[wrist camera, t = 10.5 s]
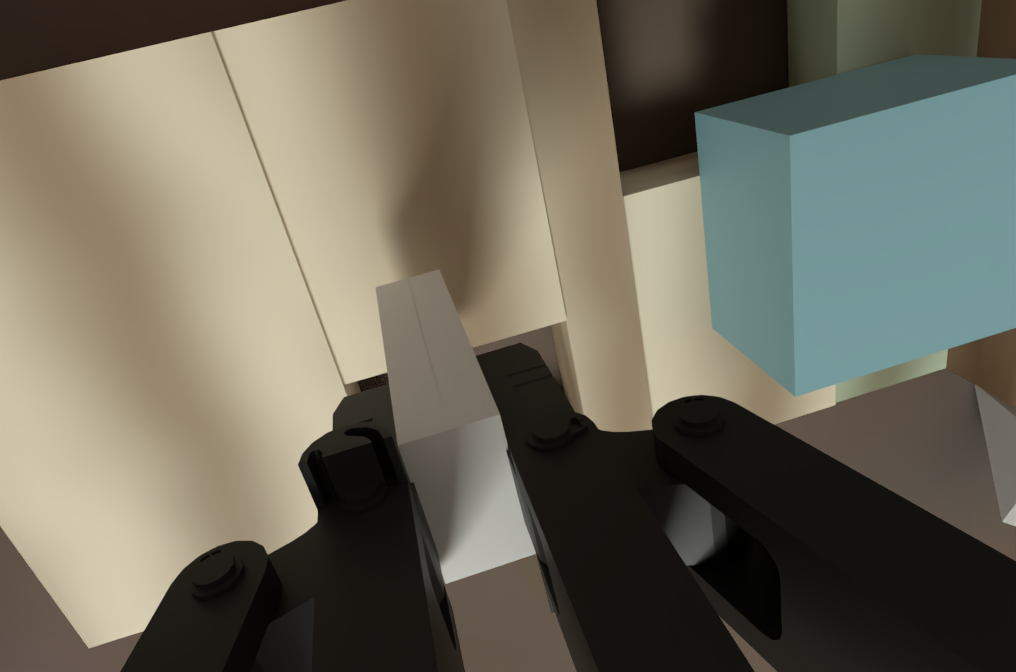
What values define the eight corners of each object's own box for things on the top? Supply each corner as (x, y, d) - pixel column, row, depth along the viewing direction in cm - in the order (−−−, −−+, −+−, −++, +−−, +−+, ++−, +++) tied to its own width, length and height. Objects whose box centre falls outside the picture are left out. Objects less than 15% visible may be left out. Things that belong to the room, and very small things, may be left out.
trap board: (116, 582, 21) (58, 720, 17) (-182, 126, 15) (-392, 166, 11) (924, 333, 24) (1047, 398, 20) (962, -140, 18) (1153, -191, 13)
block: (712, 328, 19) (794, 396, 16) (694, 112, 16) (789, 136, 13) (902, 271, 20) (1024, 325, 16) (915, 54, 17) (1064, 61, 14)
